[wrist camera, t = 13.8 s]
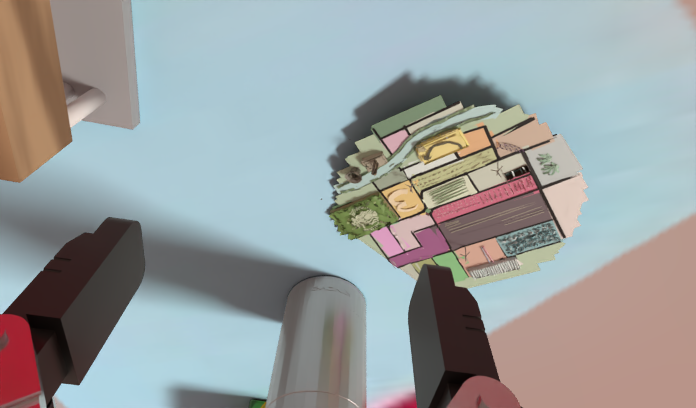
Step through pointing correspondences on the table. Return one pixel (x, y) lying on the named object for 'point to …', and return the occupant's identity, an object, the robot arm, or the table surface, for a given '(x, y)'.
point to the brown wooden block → (30, 89)
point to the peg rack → (97, 60)
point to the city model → (461, 191)
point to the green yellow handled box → (257, 404)
